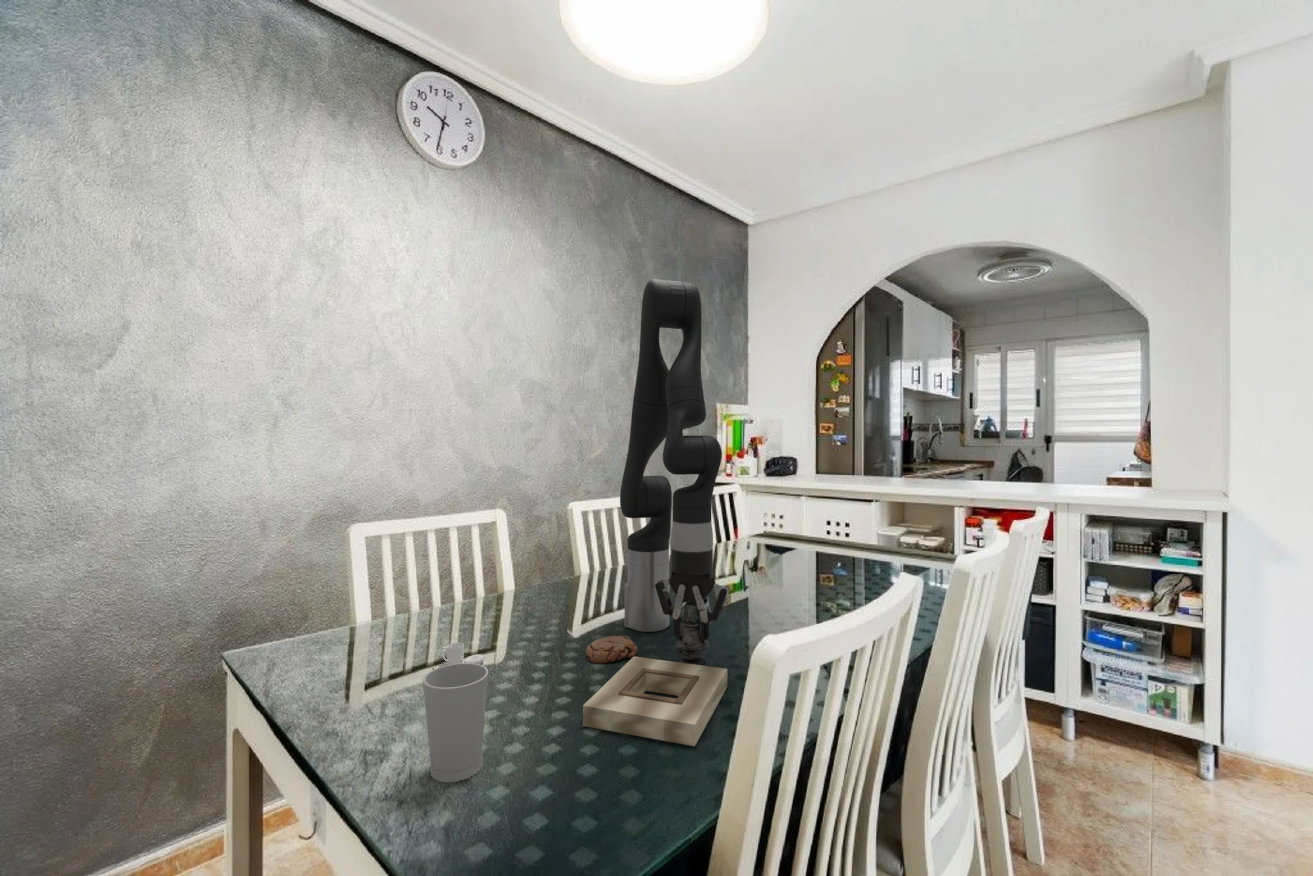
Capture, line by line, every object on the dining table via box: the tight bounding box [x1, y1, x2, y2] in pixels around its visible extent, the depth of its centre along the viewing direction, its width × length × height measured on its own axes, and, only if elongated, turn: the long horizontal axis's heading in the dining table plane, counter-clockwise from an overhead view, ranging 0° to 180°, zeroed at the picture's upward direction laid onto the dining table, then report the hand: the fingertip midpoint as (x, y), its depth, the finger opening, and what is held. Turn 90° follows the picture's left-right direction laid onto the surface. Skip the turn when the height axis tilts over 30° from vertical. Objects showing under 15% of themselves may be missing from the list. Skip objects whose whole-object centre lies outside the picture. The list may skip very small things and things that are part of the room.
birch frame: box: [582, 655, 728, 747], centre depth 93 cm, size 17×20×3 cm
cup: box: [422, 662, 489, 783], centre depth 76 cm, size 8×8×12 cm
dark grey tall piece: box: [675, 602, 709, 666], centre depth 107 cm, size 6×6×12 cm
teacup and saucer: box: [440, 642, 485, 665], centre depth 109 cm, size 9×8×4 cm
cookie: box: [585, 635, 639, 664], centre depth 114 cm, size 10×11×3 cm
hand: (691, 639), depth 107 cm, fingers closed on dark grey tall piece, 4 cm apart
